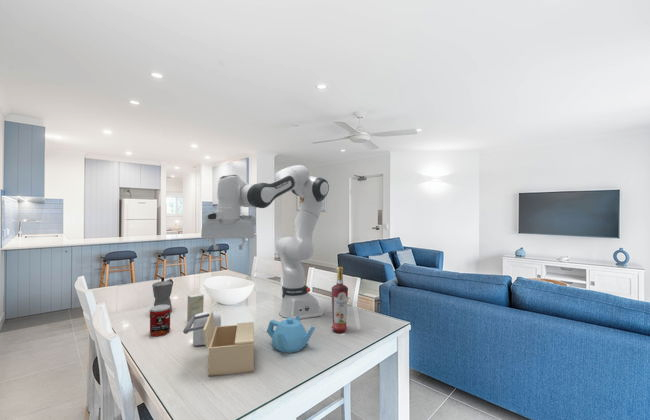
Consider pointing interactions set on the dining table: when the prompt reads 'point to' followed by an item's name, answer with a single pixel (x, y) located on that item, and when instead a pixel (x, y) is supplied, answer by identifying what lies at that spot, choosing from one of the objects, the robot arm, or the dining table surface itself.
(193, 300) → the skincare box
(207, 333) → the far flap
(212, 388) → the dining table surface
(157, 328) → the canned food
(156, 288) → the coffeepot
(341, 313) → the liquor
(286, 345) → the teapot
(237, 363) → the carton
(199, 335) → the photo printer
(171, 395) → the dining table surface
